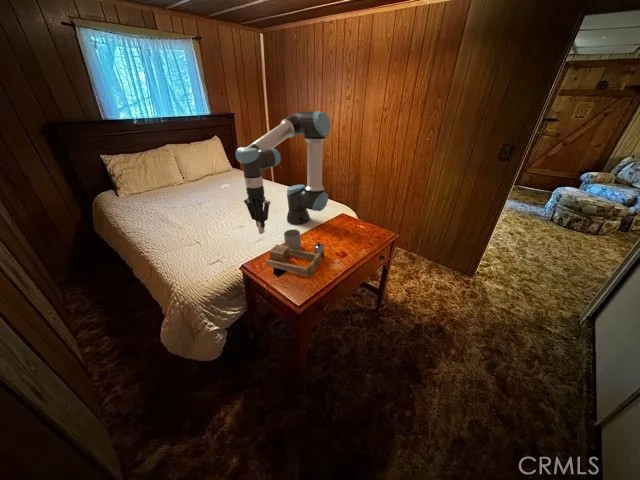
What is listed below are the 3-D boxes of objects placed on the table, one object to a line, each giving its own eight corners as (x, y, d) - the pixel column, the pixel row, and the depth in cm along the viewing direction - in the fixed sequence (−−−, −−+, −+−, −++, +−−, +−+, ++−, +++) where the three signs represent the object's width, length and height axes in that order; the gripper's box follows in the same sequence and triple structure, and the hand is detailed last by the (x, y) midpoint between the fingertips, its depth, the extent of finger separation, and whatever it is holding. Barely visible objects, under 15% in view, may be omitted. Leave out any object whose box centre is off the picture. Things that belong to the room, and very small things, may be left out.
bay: (280, 252, 135) (279, 244, 132) (321, 260, 127) (321, 251, 125) (266, 266, 124) (265, 258, 121) (310, 276, 116) (310, 267, 114)
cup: (298, 254, 133) (297, 237, 128) (283, 252, 134) (281, 236, 129) (302, 245, 140) (301, 229, 135) (288, 244, 141) (286, 228, 136)
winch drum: (316, 252, 133) (316, 239, 129) (325, 254, 132) (325, 240, 127) (312, 257, 129) (312, 243, 125) (322, 259, 128) (321, 245, 123)
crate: (278, 255, 132) (276, 244, 129) (290, 258, 130) (289, 246, 126) (271, 263, 126) (269, 251, 123) (283, 266, 124) (282, 253, 120)
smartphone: (257, 266, 125) (277, 278, 116) (257, 265, 125) (277, 276, 116) (269, 259, 130) (289, 270, 121) (269, 258, 129) (289, 269, 121)
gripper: (237, 186, 111) (246, 234, 122) (262, 189, 107) (269, 238, 118) (247, 182, 117) (255, 227, 128) (271, 184, 113) (277, 231, 124)
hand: (261, 232), depth 123 cm, fingers closed
